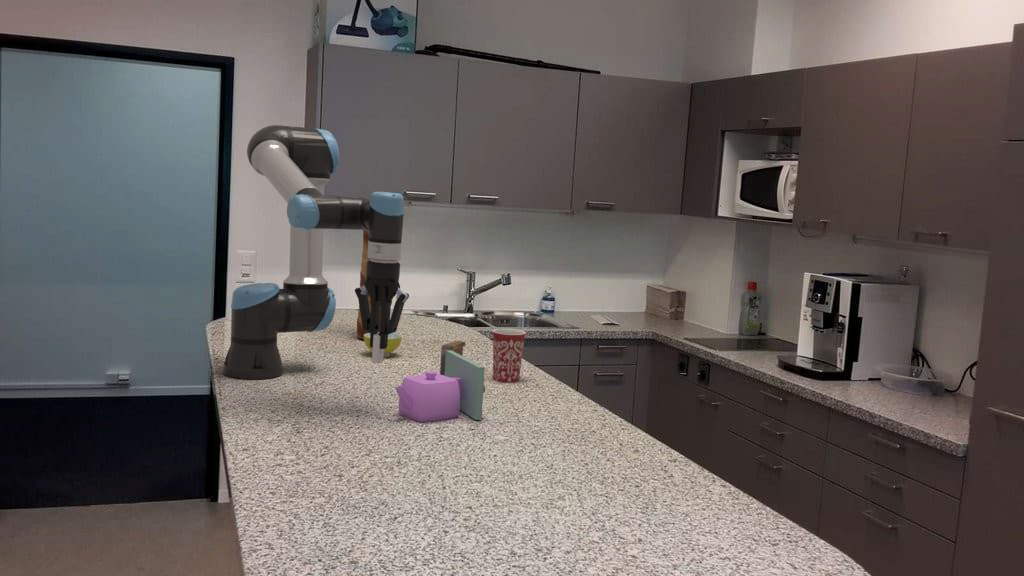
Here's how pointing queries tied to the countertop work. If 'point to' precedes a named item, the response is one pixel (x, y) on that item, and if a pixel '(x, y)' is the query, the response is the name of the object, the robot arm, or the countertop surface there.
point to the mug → (507, 354)
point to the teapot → (430, 397)
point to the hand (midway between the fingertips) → (377, 361)
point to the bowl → (392, 345)
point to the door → (467, 382)
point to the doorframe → (454, 346)
